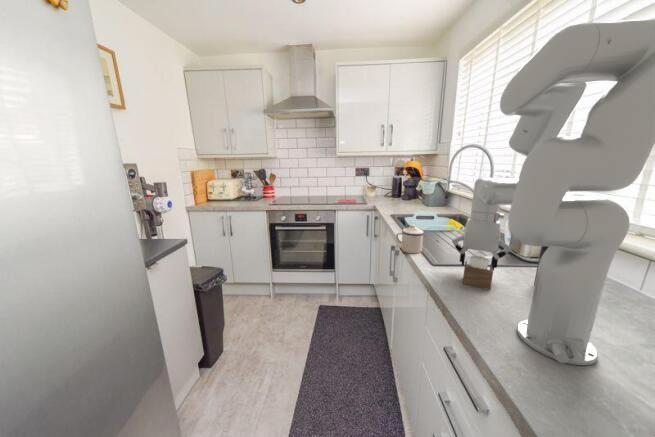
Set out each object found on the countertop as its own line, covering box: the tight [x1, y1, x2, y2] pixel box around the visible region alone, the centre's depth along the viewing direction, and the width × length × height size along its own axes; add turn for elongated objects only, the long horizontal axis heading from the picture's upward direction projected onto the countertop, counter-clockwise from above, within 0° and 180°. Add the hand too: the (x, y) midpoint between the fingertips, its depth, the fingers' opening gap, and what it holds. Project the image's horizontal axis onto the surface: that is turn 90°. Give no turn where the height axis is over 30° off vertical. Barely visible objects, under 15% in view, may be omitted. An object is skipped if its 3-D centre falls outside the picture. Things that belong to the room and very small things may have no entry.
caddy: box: [462, 260, 494, 291], centre depth 77 cm, size 5×7×6 cm
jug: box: [468, 255, 489, 270], centre depth 79 cm, size 8×5×8 cm, turn 150°
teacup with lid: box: [395, 224, 425, 255], centre depth 107 cm, size 12×9×12 cm
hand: (477, 266), depth 82 cm, fingers open, 8 cm apart
